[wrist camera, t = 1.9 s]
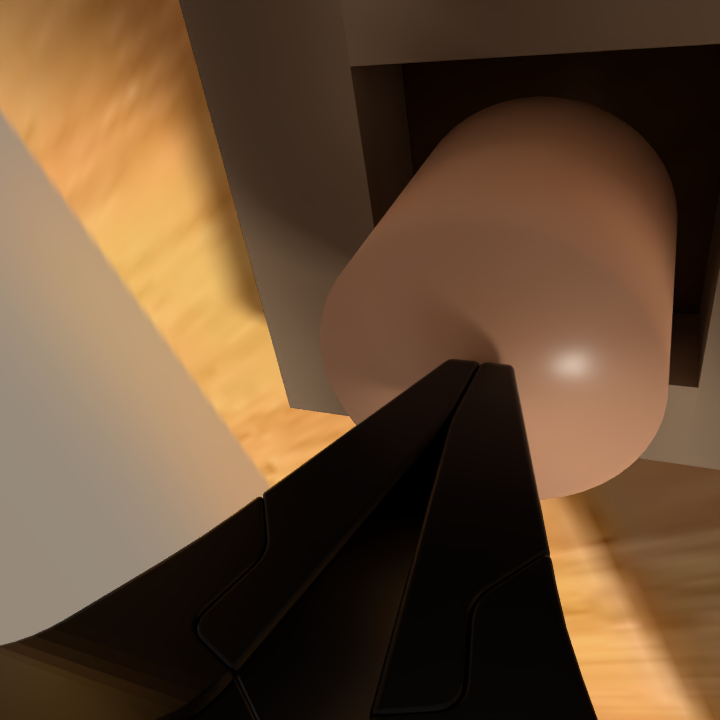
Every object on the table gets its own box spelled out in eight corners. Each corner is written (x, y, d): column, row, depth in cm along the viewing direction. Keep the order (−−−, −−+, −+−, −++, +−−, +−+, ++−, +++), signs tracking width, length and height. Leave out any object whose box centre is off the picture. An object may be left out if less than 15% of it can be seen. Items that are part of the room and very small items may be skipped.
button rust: (695, 89, 10) (692, 226, 7) (662, 343, 13) (648, 525, 10) (400, 102, 12) (290, 214, 9) (424, 323, 15) (347, 472, 11)
